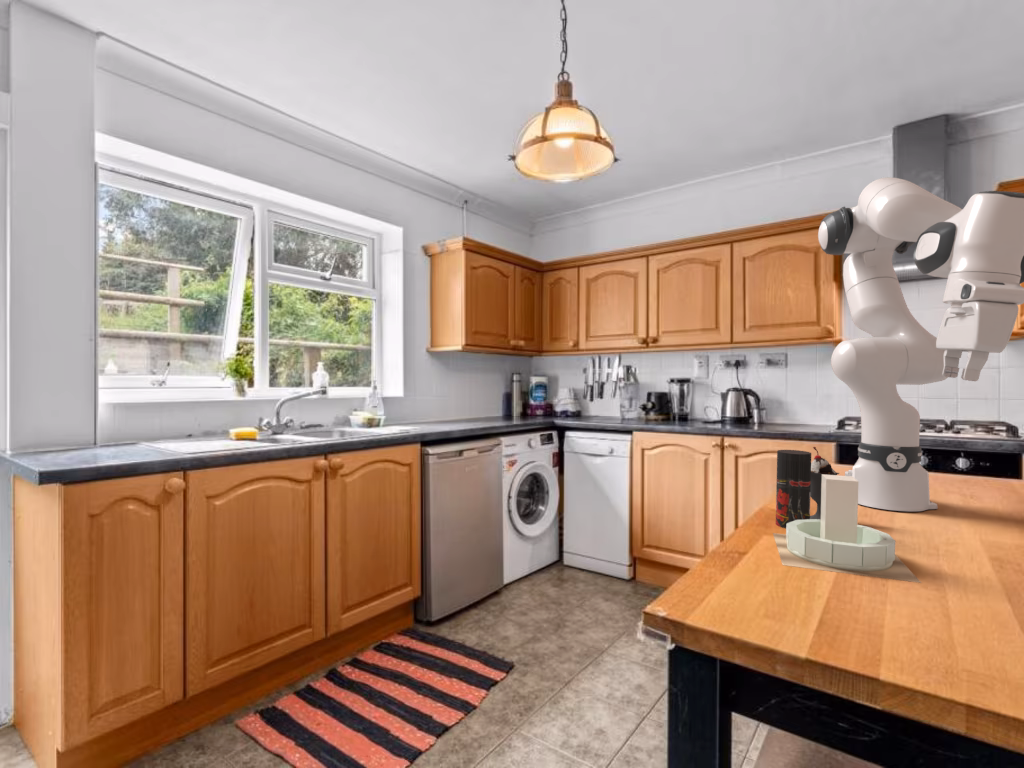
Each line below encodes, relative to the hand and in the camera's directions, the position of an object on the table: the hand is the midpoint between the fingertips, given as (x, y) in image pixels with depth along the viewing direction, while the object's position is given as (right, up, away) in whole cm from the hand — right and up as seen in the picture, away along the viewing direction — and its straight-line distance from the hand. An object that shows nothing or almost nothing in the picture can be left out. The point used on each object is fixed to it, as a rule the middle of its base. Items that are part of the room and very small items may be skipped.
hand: (958, 378), depth 88 cm
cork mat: (-19, -30, +1) cm, 35 cm away
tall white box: (-19, -28, +1) cm, 34 cm away
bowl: (-19, -29, +1) cm, 35 cm away
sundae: (-9, -29, +24) cm, 39 cm away
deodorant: (-18, -29, +18) cm, 39 cm away
